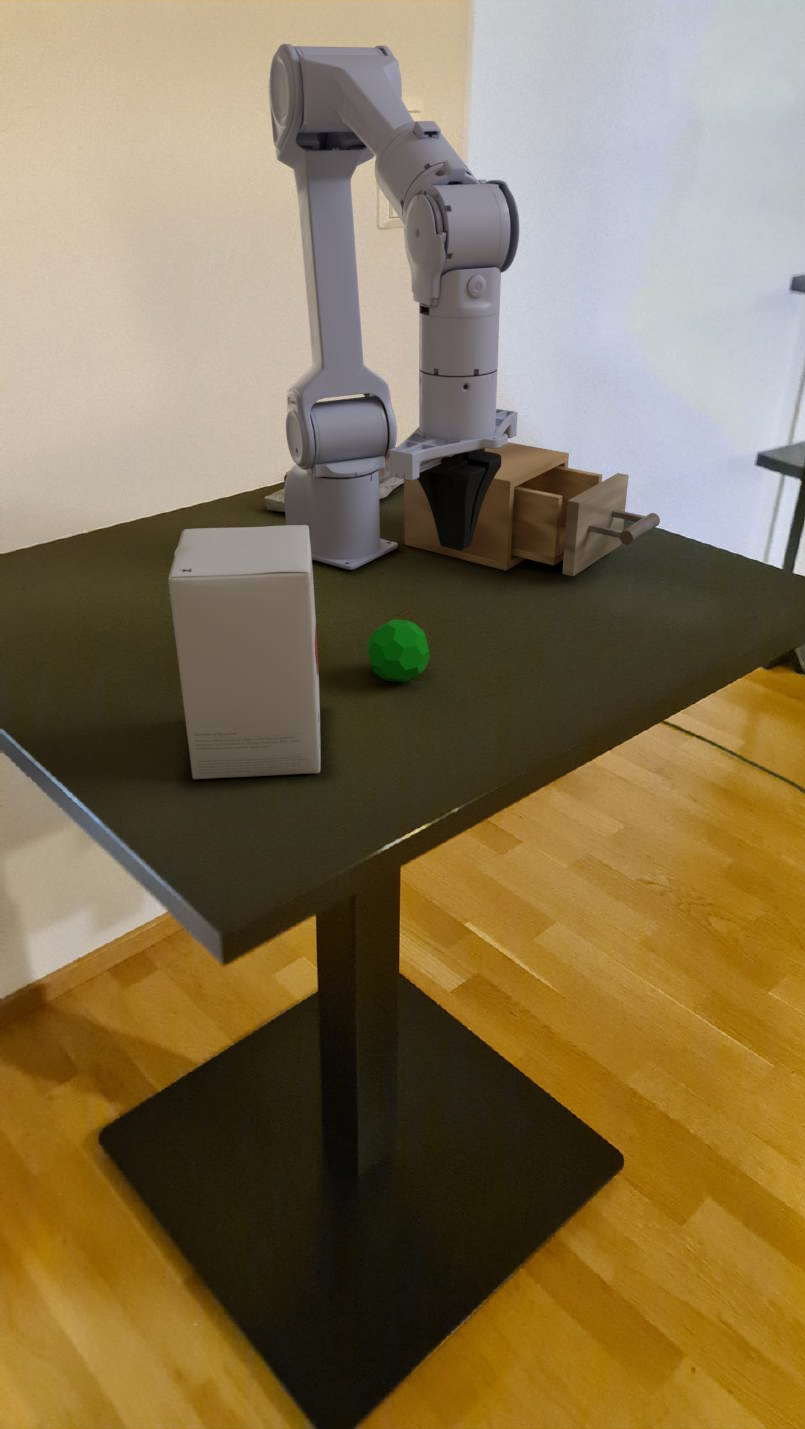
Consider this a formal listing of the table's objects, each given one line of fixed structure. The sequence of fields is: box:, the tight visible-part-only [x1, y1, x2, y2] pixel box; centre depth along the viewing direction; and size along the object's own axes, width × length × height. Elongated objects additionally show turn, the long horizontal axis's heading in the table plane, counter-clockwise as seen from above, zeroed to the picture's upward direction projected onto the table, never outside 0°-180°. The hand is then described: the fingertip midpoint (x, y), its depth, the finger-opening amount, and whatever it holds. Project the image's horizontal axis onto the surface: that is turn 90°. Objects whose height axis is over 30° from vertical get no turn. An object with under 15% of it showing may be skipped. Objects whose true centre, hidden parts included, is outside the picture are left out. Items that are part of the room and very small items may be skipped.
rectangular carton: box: [167, 524, 322, 780], centre depth 70 cm, size 9×9×15 cm
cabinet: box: [403, 441, 570, 571], centre depth 106 cm, size 13×12×9 cm
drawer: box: [511, 466, 661, 577], centre depth 101 cm, size 16×10×7 cm, turn 53°
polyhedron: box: [366, 619, 431, 683], centre depth 81 cm, size 5×5×5 cm
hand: (455, 546), depth 81 cm, fingers closed
